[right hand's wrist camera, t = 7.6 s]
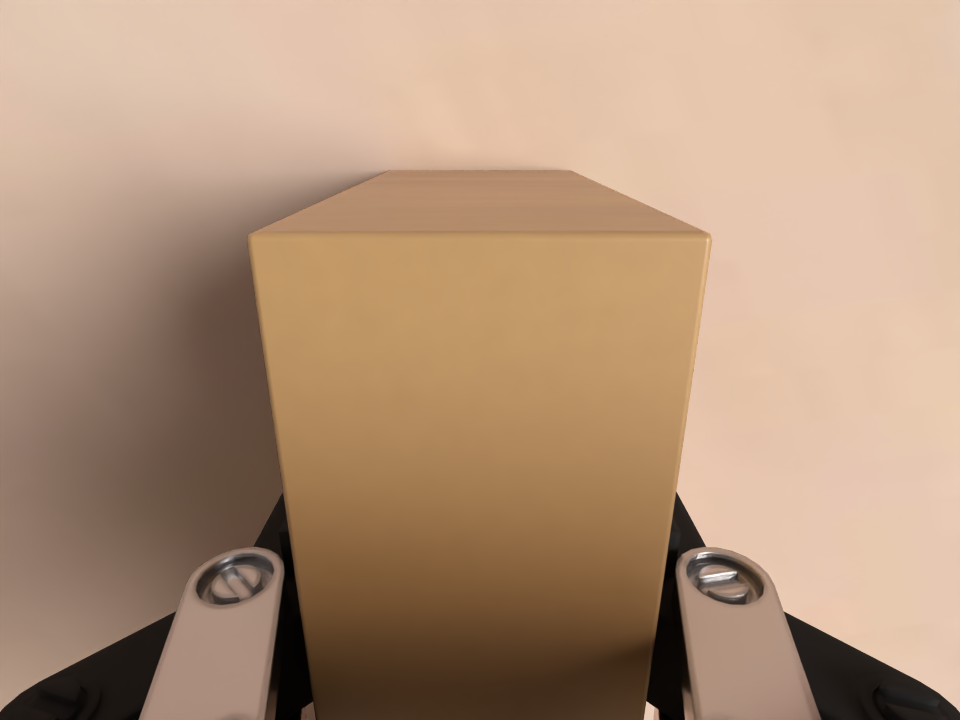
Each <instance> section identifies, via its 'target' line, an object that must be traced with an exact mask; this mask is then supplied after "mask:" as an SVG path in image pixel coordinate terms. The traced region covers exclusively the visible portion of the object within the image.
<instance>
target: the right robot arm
mask: <svg viewBox="0 0 960 720" xmlns="http://www.w3.org/2000/svg"><path fill="white" fill-rule="evenodd" d="M312 701H313V696H312V689H311V682H310V675H309V668H308V661H307V654H306V647H305V640H304V633H303V626H302V619H301V613H300V606H299V599H298V592H297V585H296V578H295V571H294V564H293V557H292V550H291V543H290V536H289V529H288V522H287V515H286V508H285V501H284V494H283V493H282V495H281V497H280V499H279V500H278V502H277V504H276V506H275V508H274V510H273V512H272V513H271V515H270V517H269V519H268V521H267V523H266V525H265V526H264V528H263V530H262V532H261V534H260V536H259V537H258V539H257V541H256V543H255V545H254V547H245V548H239V549H234V550H230V551H227V552H224V553H222V554H219V555H217V556H215V557H213V558H211V559H210V560H208V561H207V562H205V563H203V564H202V565H201V566H200V567H199V568H198V569H197V570H196V571H195V572H194V573H192V575H191V576H190V578H189V580H188V582H187V583H186V585H185V588H184V591H183V594H182V597H181V600H180V603H179V606H178V608H177V611H176V612H174V613H172V614H170V615H168V616H166V617H164V618H162V619H160V620H158V621H157V622H155V623H153V624H151V625H149V626H147V627H145V628H143V629H141V630H139V631H137V632H135V633H133V634H131V635H129V636H127V637H125V638H124V639H122V640H120V641H118V642H116V643H114V644H112V645H110V646H108V647H106V648H104V649H102V650H100V651H98V652H96V653H94V654H93V655H91V656H89V657H87V658H85V659H83V660H81V661H79V662H77V663H75V664H73V665H71V666H69V667H67V668H65V669H63V670H61V671H60V672H58V673H56V674H54V675H52V676H50V677H48V678H46V679H44V680H42V681H40V682H38V683H37V684H35V685H34V686H32V687H30V688H29V689H27V690H25V691H24V692H22V693H21V694H19V695H18V696H17V697H16V698H15V699H14V700H12V701H11V702H10V703H9V704H8V705H7V706H5V707H4V708H3V709H2V711H1V712H0V720H306V710H305V706H307V705H308V704H310V703H311V702H312ZM646 701H647V702H649V703H650V704H651V705H653V706H654V707H655V710H654V720H960V712H959V711H958V710H957V709H956V708H955V707H954V706H953V705H952V704H951V703H950V702H948V701H947V700H946V699H945V698H944V697H942V696H941V695H940V694H939V693H937V692H936V691H934V690H933V689H931V688H929V687H928V686H926V685H924V684H923V683H921V682H920V681H918V680H916V679H914V678H912V677H910V676H908V675H906V674H904V673H902V672H900V671H898V670H896V669H894V668H892V667H890V666H888V665H887V664H885V663H883V662H881V661H879V660H877V659H875V658H873V657H871V656H869V655H867V654H865V653H863V652H861V651H859V650H857V649H855V648H854V647H852V646H850V645H848V644H846V643H844V642H842V641H840V640H838V639H836V638H834V637H832V636H830V635H828V634H826V633H824V632H823V631H821V630H819V629H817V628H815V627H813V626H811V625H809V624H807V623H805V622H803V621H801V620H799V619H797V618H795V617H793V616H791V615H790V614H788V613H786V612H784V611H783V608H782V606H781V603H780V600H779V597H778V594H777V591H776V588H775V585H774V583H773V582H772V580H771V578H770V576H769V575H768V573H766V572H765V571H764V570H763V569H762V568H761V567H760V566H759V565H758V564H757V563H755V562H753V561H752V560H750V559H749V558H747V557H745V556H743V555H741V554H738V553H736V552H733V551H730V550H726V549H721V548H715V547H706V546H705V544H704V542H703V540H702V538H701V536H700V535H699V533H698V531H697V529H696V527H695V525H694V523H693V522H692V520H691V518H690V516H689V514H688V512H687V510H686V509H685V507H684V505H683V503H682V501H681V499H680V498H679V496H678V494H677V492H676V496H675V503H674V510H673V517H672V524H671V531H670V538H669V545H668V552H667V559H666V566H665V573H664V580H663V587H662V594H661V601H660V608H659V615H658V622H657V629H656V636H655V643H654V650H653V657H652V664H651V671H650V678H649V685H648V692H647V699H646Z"/></svg>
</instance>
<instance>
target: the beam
mask: <svg viewBox="0 0 960 720" xmlns="http://www.w3.org/2000/svg"><path fill="white" fill-rule="evenodd" d="M247 244H248V251H249V258H250V264H251V271H252V278H253V285H254V292H255V299H256V306H257V313H258V320H259V327H260V334H261V341H262V348H263V355H264V362H265V369H266V376H267V383H268V390H269V397H270V404H271V411H272V418H273V425H274V432H275V438H276V445H277V452H278V459H279V466H280V473H281V480H282V487H283V494H284V501H285V508H286V515H287V522H288V529H289V536H290V543H291V550H292V557H293V564H294V571H295V578H296V585H297V592H298V599H299V606H300V613H301V619H302V626H303V633H304V640H305V647H306V654H307V661H308V668H309V675H310V682H311V689H312V696H313V703H314V710H315V717H316V720H644V713H645V706H646V699H647V692H648V685H649V678H650V671H651V664H652V657H653V650H654V643H655V636H656V629H657V622H658V615H659V608H660V601H661V594H662V587H663V580H664V573H665V566H666V559H667V552H668V545H669V538H670V531H671V524H672V517H673V510H674V503H675V496H676V489H677V482H678V475H679V468H680V461H681V454H682V447H683V440H684V433H685V426H686V419H687V412H688V405H689V398H690V391H691V384H692V377H693V370H694V363H695V356H696V349H697V342H698V335H699V328H700V321H701V314H702V307H703V300H704V293H705V286H706V279H707V272H708V265H709V258H710V251H711V244H712V239H711V235H710V234H709V233H707V232H705V231H703V230H700V229H698V228H696V227H694V226H692V225H689V224H687V223H685V222H683V221H681V220H678V219H676V218H674V217H672V216H670V215H667V214H665V213H663V212H661V211H659V210H656V209H654V208H652V207H650V206H648V205H645V204H643V203H641V202H639V201H637V200H634V199H632V198H630V197H628V196H626V195H623V194H621V193H619V192H617V191H615V190H612V189H610V188H608V187H606V186H604V185H601V184H599V183H597V182H595V181H593V180H590V179H588V178H586V177H584V176H582V175H579V174H577V173H575V172H573V171H387V172H385V173H382V174H380V175H378V176H376V177H374V178H371V179H369V180H367V181H365V182H363V183H360V184H358V185H356V186H354V187H351V188H349V189H347V190H345V191H343V192H340V193H338V194H336V195H334V196H332V197H329V198H327V199H325V200H323V201H321V202H318V203H316V204H314V205H312V206H310V207H307V208H305V209H303V210H301V211H299V212H296V213H294V214H292V215H290V216H288V217H285V218H283V219H281V220H279V221H276V222H274V223H272V224H270V225H268V226H265V227H263V228H261V229H259V230H257V231H254V232H252V233H250V234H249V235H248V239H247Z"/></svg>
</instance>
